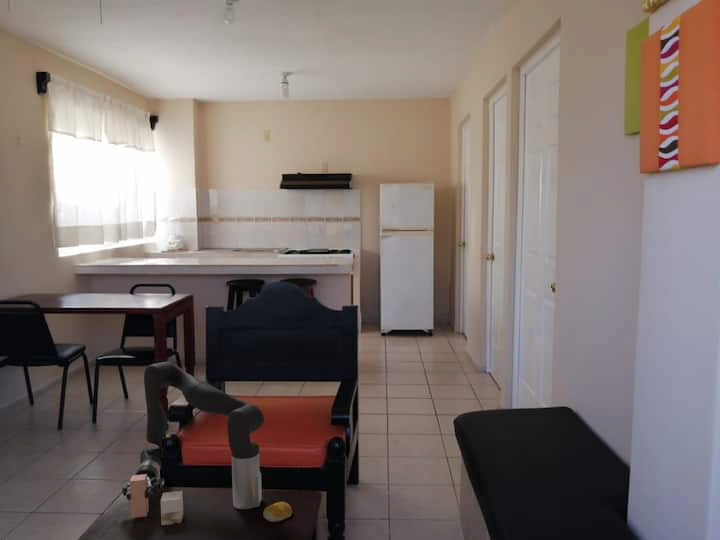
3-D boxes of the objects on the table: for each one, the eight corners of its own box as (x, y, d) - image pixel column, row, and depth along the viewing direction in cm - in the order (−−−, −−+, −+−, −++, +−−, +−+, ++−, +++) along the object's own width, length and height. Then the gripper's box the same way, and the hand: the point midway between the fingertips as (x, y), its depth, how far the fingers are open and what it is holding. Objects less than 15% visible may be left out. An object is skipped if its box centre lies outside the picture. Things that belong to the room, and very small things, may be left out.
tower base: (183, 514, 186) (183, 502, 185) (181, 523, 180) (180, 511, 180) (164, 516, 185) (164, 504, 184) (161, 525, 179) (161, 513, 178)
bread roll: (296, 514, 184) (296, 502, 184) (274, 525, 178) (274, 512, 178) (280, 506, 190) (280, 495, 190) (259, 516, 184) (258, 504, 183)
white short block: (182, 502, 186) (182, 490, 185) (180, 511, 180) (180, 499, 179) (163, 504, 184) (163, 492, 184) (161, 513, 178) (160, 501, 178)
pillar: (148, 509, 185) (147, 474, 185) (146, 516, 181) (144, 479, 180) (134, 511, 184) (132, 475, 184) (131, 518, 180) (129, 481, 179)
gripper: (124, 466, 195) (113, 487, 178) (168, 462, 198) (160, 482, 181) (125, 487, 195) (114, 510, 178) (169, 483, 198) (161, 505, 181)
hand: (137, 496), depth 180 cm, fingers closed on pillar, 4 cm apart
